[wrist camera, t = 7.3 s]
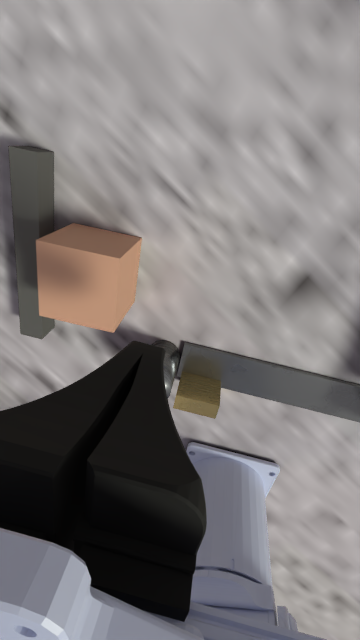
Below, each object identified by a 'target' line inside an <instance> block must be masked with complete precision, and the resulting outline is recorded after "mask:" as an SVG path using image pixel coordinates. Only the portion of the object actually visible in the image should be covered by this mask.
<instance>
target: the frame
mask: <svg viewBox="0 0 360 640" xmlns="http://www.w3.org/2000/svg"><path fill="white" fill-rule="evenodd" d="M152 345H153V346H157V347H161V348H164V350H165V351H166V352H165V357H164V363H163V370H164V382H165V389H166V394H167V399H168V397H169V396H170V393H171V389H172V385H173V381H174V378H175V374H176V370H177V367H178V363H179V359H180V352H179V350H178V348H177V347H176V346H175V345H174V344H173V343H171V342H168V341H163V340H162V341H157V342H154V343H153V344H152ZM177 377H181V378H180V382H179V386H178V390H177V394H176V398H175V403H174V407H173V408H175V409H179V410H183V411H187V412H191V413H195V414H199V415H203V416H207V417H210V418H214V419H215V418H216V415H217V412H218V409H219V406H220V390H221V388H225V389H229V390H233V391H237V392H241V393H245V394H249V395H253V396H257V397H261V398H265V399H269V400H273V401H277V402H281V403H285V404H289V405H293V406H297V407H301V408H305V409H309V410H313V411H317V412H321V413H325V414H329V415H333V416H337V417H341V418H345V419H349V420H353V421H357V422H360V385H358V384H354V383H350V382H346V381H342V380H338V379H334V378H330V377H326V376H322V375H317V374H313V373H309V372H305V371H301V370H297V369H293V368H289V367H285V366H281V365H277V364H273V363H269V362H265V361H261V360H256V359H252V358H248V357H244V356H240V355H236V354H232V353H228V352H224V351H220V350H216V349H212V348H208V347H204V346H199V345H195V344H191V343H187V342H185V344H184V348H183V352H182V356H181V361H180V365H179V369H178V373H177Z"/></svg>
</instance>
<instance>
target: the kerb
mask: <svg viewBox="0 0 360 640" xmlns="http://www.w3.org/2000/svg"><path fill="white" fill-rule="evenodd" d="M8 147H9V163H10V178H11V194H12V209H13V224H14V240H15V255H16V271H17V286H18V301H19V317H20V332H21V334H23V335H27V336H31V337H35V338H39V339H43V338H44V337H45V336H46V335H47V334H48V333H49V332H50V331H51V330H52V329H53V328H54V319H52V318H48V317H43V316H39V299H38V277H37V255H36V240H37V239H39V238H42V237H44V236H46V235H48V234H50V233H53V232H54V152H52V151H47V150H43V149H38V148H34V147H29V146H8Z"/></svg>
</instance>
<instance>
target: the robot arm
mask: <svg viewBox="0 0 360 640" xmlns="http://www.w3.org/2000/svg"><path fill="white" fill-rule="evenodd" d="M165 352H166V351H165V350H164V348H161V347H157V346H153V345H149V344H145V343H141V342H137V341H133V342H131V343H130V344H129V345H128V346H126V347H125V348H124V349H123V350H122V351H121V352H119V353H118V354H117V355H115V356H114V357H113V358H112V359H110V360H109V361H107V362H106V363H105V364H103V365H102V366H101V367H99V368H98V369H96V370H94V371H93V372H91V373H90V374H88V375H87V376H85V377H84V378H82V379H80V380H78V381H77V382H75V383H73V384H71V385H69V386H67V387H65V388H63V389H61V390H59V391H57V392H54V393H52V394H50V395H47V396H45V397H43V398H40V399H37V400H35V401H32V402H29V403H26V404H23V405H20V406H17V407H14V408H11V409H7V410H3V411H0V640H326V639H322V638H319V637H315V636H312V635H308V634H305V633H301V632H298V629H297V623H296V620H295V618H294V617H293V616H292V615H291V614H290V613H288V609H287V607H285V606H277V611H278V621H277V613H276V607H275V600H274V594H273V587H272V576H271V564H270V552H269V540H268V528H267V516H266V504H265V498H266V496H267V494H268V492H269V490H270V489H271V487H272V485H273V483H274V481H275V479H276V477H277V475H278V474H279V472H280V467H279V465H278V464H276V463H272V462H269V461H265V460H261V459H257V458H253V457H249V456H245V455H242V454H238V453H234V452H230V451H226V450H222V449H218V448H215V447H211V446H207V445H203V444H199V443H195V442H191V443H189V444H188V447H187V450H185V448H184V446H183V444H182V442H181V439H180V437H179V434H178V432H177V430H176V427H175V424H174V421H173V418H172V415H171V411H170V408H169V404H168V400H167V394H166V389H165V382H164V370H163V363H164V357H165ZM191 451H193V452H191Z"/></svg>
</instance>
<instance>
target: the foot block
mask: <svg viewBox="0 0 360 640" xmlns="http://www.w3.org/2000/svg"><path fill="white" fill-rule="evenodd" d="M141 241H142V238H140V237H135V236H131V235H126V234H122V233H117V232H112V231H108V230H103V229H99V228H94V227H89V226H85V225H80V224H76V223H72V224H70V225H68V226H66V227H64V228H61V229H59V230H57V231H55V232H53V233H50V234H48V235H46V236H44V237H42V238H39V239H37V240H36V255H37V277H38V299H39V316H43V317H48V318H52V319H56V320H60V321H65V322H69V323H73V324H78V325H82V326H86V327H91V328H95V329H99V330H103V331H108V332H112V333H114V331H115V330H116V328H117V327H118V325H119V324H120V322H121V321H122V319H123V318H124V316H125V315H126V313H127V312H128V310H129V309H130V307H131V306H132V304H133V303H134V301H135V293H136V284H137V275H138V267H139V258H140V250H141Z"/></svg>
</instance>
